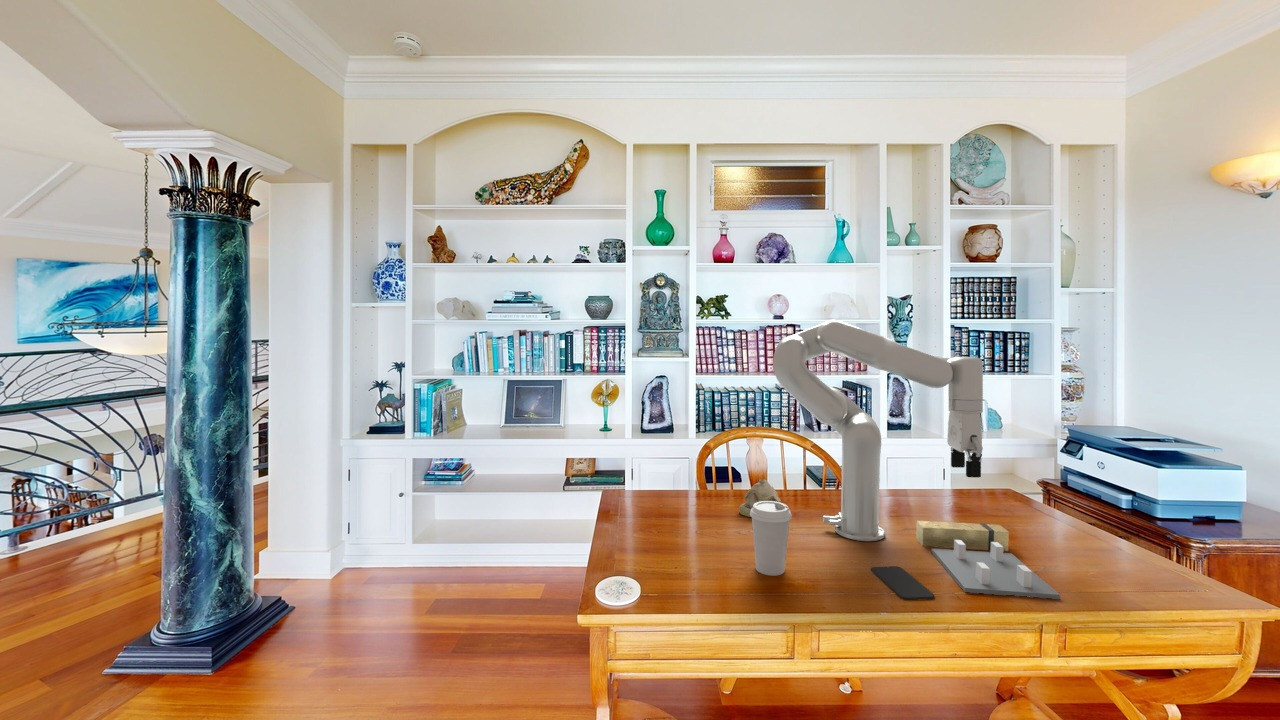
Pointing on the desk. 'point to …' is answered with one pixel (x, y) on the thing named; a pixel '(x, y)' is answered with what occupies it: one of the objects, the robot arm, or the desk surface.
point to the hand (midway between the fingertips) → (965, 471)
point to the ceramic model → (758, 496)
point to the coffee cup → (770, 536)
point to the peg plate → (992, 572)
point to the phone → (902, 583)
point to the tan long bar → (961, 535)
